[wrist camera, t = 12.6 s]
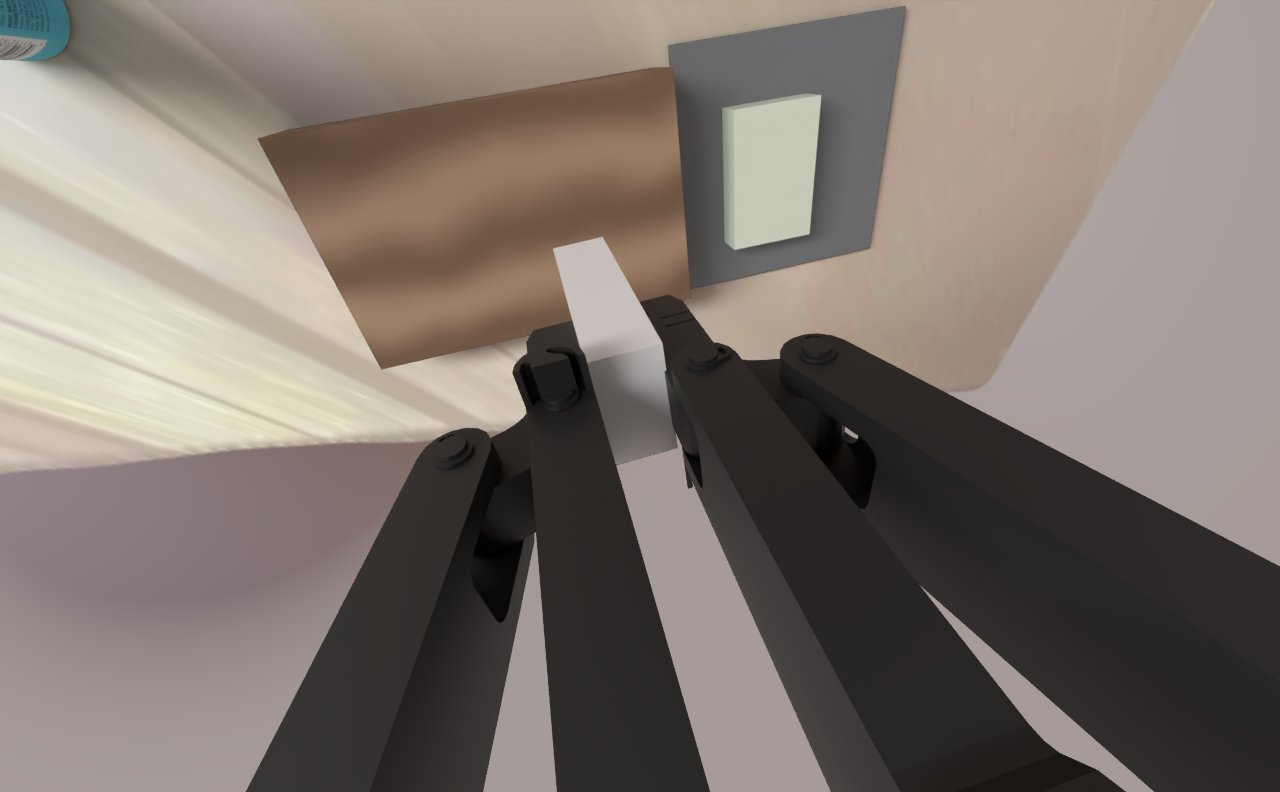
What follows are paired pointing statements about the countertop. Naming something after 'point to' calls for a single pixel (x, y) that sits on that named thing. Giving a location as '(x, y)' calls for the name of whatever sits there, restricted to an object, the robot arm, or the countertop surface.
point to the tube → (33, 29)
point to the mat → (847, 136)
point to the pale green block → (769, 169)
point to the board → (489, 207)
